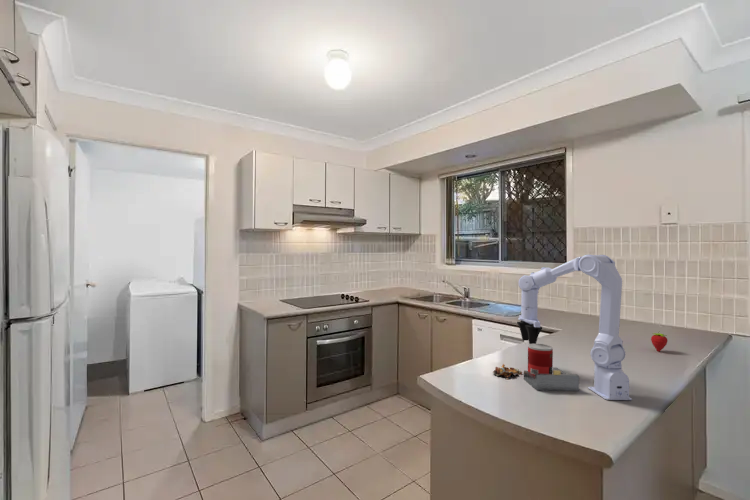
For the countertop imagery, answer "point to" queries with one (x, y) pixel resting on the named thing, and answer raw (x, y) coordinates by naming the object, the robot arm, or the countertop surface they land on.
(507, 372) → the brown jagged clump
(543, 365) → the canned food
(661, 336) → the strawberry
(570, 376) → the coupler bay
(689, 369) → the countertop surface
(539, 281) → the robot arm
